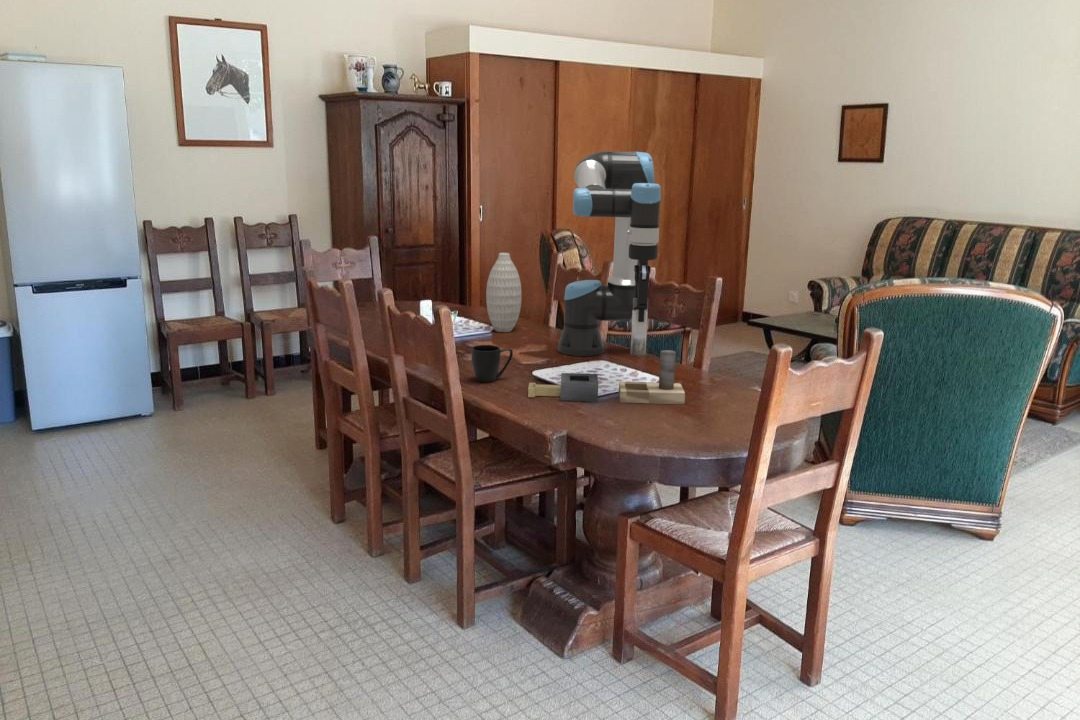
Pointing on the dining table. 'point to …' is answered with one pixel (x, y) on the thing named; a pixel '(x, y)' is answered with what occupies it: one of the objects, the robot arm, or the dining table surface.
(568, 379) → the socket
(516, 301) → the vase
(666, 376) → the rack
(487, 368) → the mug
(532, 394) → the t-shaped block
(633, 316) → the round peg
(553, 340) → the dining table surface
